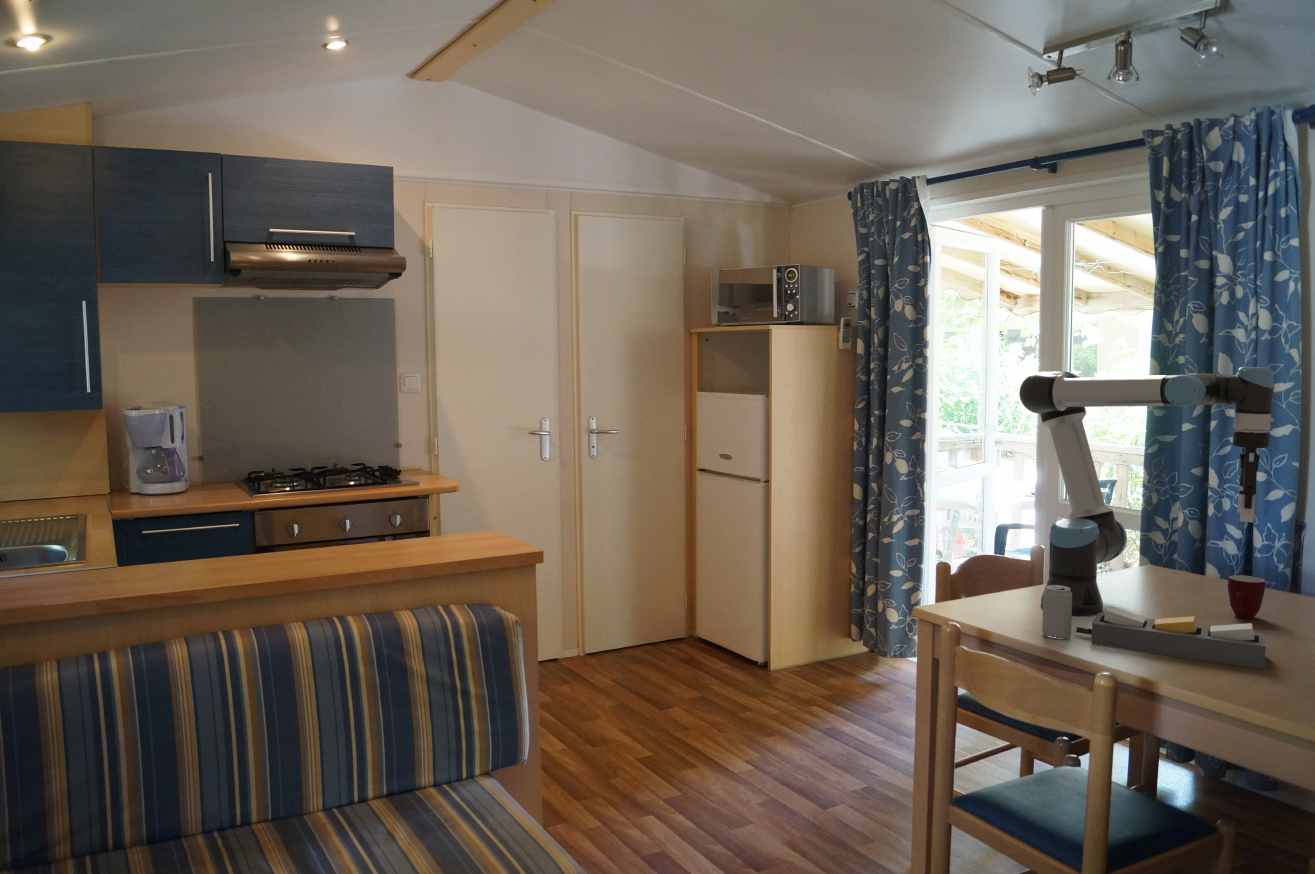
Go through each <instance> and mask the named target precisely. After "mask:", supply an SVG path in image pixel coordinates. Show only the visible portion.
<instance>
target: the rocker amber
mask: <svg viewBox="0 0 1315 874" xmlns="http://www.w3.org/2000/svg"><path fill="white" fill-rule="evenodd" d="M1154 620H1155V623H1154V626H1155V629H1159V630H1167V631H1174V632H1182V633H1189V632H1196V629H1197V625H1198V624H1197V621H1196V617H1195V616H1193V615H1191V616H1179V617H1177V616H1176V617H1166V618H1156V619H1154Z"/></svg>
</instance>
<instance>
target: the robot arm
mask: <svg viewBox="0 0 1315 874" xmlns="http://www.w3.org/2000/svg"><path fill="white" fill-rule="evenodd" d="M1274 380H1275V373H1274V370H1273V368H1271V367H1266V366H1265V367H1263V366H1260V367H1259V366H1256V367H1255V366H1240V367H1239V368H1238V369H1237V372H1236V374H1223V373H1222V374H1221V373H1220V374H1218V373H1204V372H1203V373H1202V372H1200V373H1199V372H1198V373H1186V374H1185V373H1183V374H1171V375H1170V374H1169V375H1167V374H1166V375H1165V374H1163V375H1136V376H1105V377H1104V376H1102V377H1101V376H1099V377H1080V376H1079V375H1077V374H1075V373H1072V372H1069V371H1065V370H1064V371H1063V370H1058V371H1038V372H1034V373H1032V374H1030V375H1029V376H1027V377H1025V379H1024V380H1023V381H1022V383H1021V385H1020V387H1019V393H1018V394H1019V399H1020V402H1021V404H1022V405H1023V407H1025V409H1026V410H1028V411H1030V412H1031V413H1033V414H1037V415H1038V414H1039V415H1040V418H1041V422H1042V425H1044V426H1046V427H1047V428H1049V430H1050V434H1051V438H1052V442H1053V445H1054V448H1055V453H1056V457H1057V460H1058V464H1059V467H1060V471H1061V475H1062V479H1063V482H1064V487H1065V490H1066V494H1067V498H1068V501H1069V502H1068V503H1069V505H1070V509H1071V512H1070V514H1069V515H1068V517H1067V518H1062V519H1058V520H1056V521H1054V522H1052V524H1051V526H1050V530H1049V531H1050V532H1049V536H1048V537H1049V553H1048V554H1049V558H1048V559H1049V561H1048V578H1047V581H1046V584H1045V586H1048V585H1060V586H1066V587H1069V588H1070V589H1071V590H1070V591H1071V593H1072V616H1097V614H1098V612H1099V613H1104V612H1103V611H1104V602H1103V599H1102V596H1101V593H1100V589H1099V586H1098V582H1097V580H1098V579H1097V575H1098V564H1102V563H1107V562H1112V561H1113V560H1114V559H1115V558H1117V557H1119V556H1120V555H1121V554H1122V553H1123V552H1124V551H1125V548H1126V546H1127V542H1128V536H1127V531H1126V528H1125V527H1124V526H1123V525H1122V523H1120V522H1119V521H1118V520H1116V517H1115V513H1114V510H1113V509H1112V507H1109V506H1107V505H1106V504H1105V499H1104V497H1103V492H1102V488H1101V485H1100V481H1099V478H1098V474H1097V470H1096V467H1095V463H1094V460H1093V455H1092V452H1091V449H1090V445H1089V441H1088V437H1087V434H1086V430H1085V427H1084V423H1083V419H1084V418H1085V416H1086V415H1087V410H1086V408H1087V407H1088V408H1089V407H1090V408H1091V407H1092V408H1093V407H1094V408H1095V407H1096V408H1097V407H1099V408H1100V407H1101V408H1103V407H1182V408H1183V407H1192V406H1201V405H1203V406H1204V405H1220V406H1221V405H1223V406H1225V405H1226V406H1235V407H1234V408H1235V409H1234V416H1233V428H1234V429H1235V430H1234V431H1233V434H1232V445H1233V446H1234V447H1236V448H1237V447H1238V448H1242V449H1241V452H1242V453H1240V454H1239V461H1240V462H1239V468H1240V475H1239V479H1238V482H1239V483H1238V485H1239V487H1238V498H1237V499H1238V501H1237V510H1236V511H1237V513H1238V514H1239V522H1243V523H1254V518H1255V515H1254V514H1255V506H1256V505H1255V504H1256V503H1255V502H1256V494H1257V491H1258V490H1257V477H1258V475H1257V474H1258V473H1257V472H1258V471H1259V464H1260V458H1261V457H1260V454H1259V453H1257V450H1258V449H1267V448H1269V446H1270V437H1271V434H1270V433H1269V432H1268V431H1269V430H1271V423H1273V422H1275V418H1274V417H1272V409H1273V398H1274V390H1275V381H1274ZM1044 590H1045V588H1044V589H1043V591H1044ZM1041 605H1042V606H1041ZM1040 606H1041V608H1043V593H1042V595H1041V597H1040Z"/></svg>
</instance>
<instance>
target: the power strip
mask: <svg viewBox="0 0 1315 874" xmlns="http://www.w3.org/2000/svg"><path fill="white" fill-rule="evenodd" d="M1105 614H1106V612H1102V613H1099V612H1098V614H1096V615H1095V618H1093V621H1092V622H1091V628H1090V627H1089V628H1087V627H1081V626H1076V630H1075V632H1076V634H1077V633H1078V634H1084V635H1090V636H1091V639H1090V641H1091V643H1092V644H1091V643H1090V644H1091V645H1093V644H1097V645H1096V646H1099V645H1103V646H1102V647H1106V646H1109V647H1108V648H1113V647H1114V648H1113V649H1120V648H1122V649H1121V650H1127V649H1128V651H1135V650H1136V651H1135V652H1140V653H1141V652H1142V653H1149V654H1154V655H1155V654H1156V655H1162V656H1168V657H1170V656H1171V657H1176V658H1177V657H1178V658H1182V659H1183V658H1184V659H1190V660H1197V661H1205V662H1211V663H1216V664H1217V663H1218V664H1224V665H1233V666H1239V667H1245V668H1253V669H1259V670H1265V669H1266V653H1267V652H1266V650H1267V647H1266V646H1267V644H1266V643H1267V642H1266V641H1267V640H1266V633H1264V632H1255V631H1254V640H1235V639H1227V638H1220V637H1212V636H1211V634H1210V628H1211V626H1207V625H1200V624H1199V625H1198V624H1197V629H1196V632H1189V633H1182V632H1174V631H1167V630H1159V629H1155V626H1154V623H1155V620H1156V619H1152V618H1146V617H1145V622H1144V625H1143V627H1137V626H1129V625H1122V624H1114V623H1111V622H1108V621H1105V620H1104V617H1105ZM1110 646H1111V647H1110Z"/></svg>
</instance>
